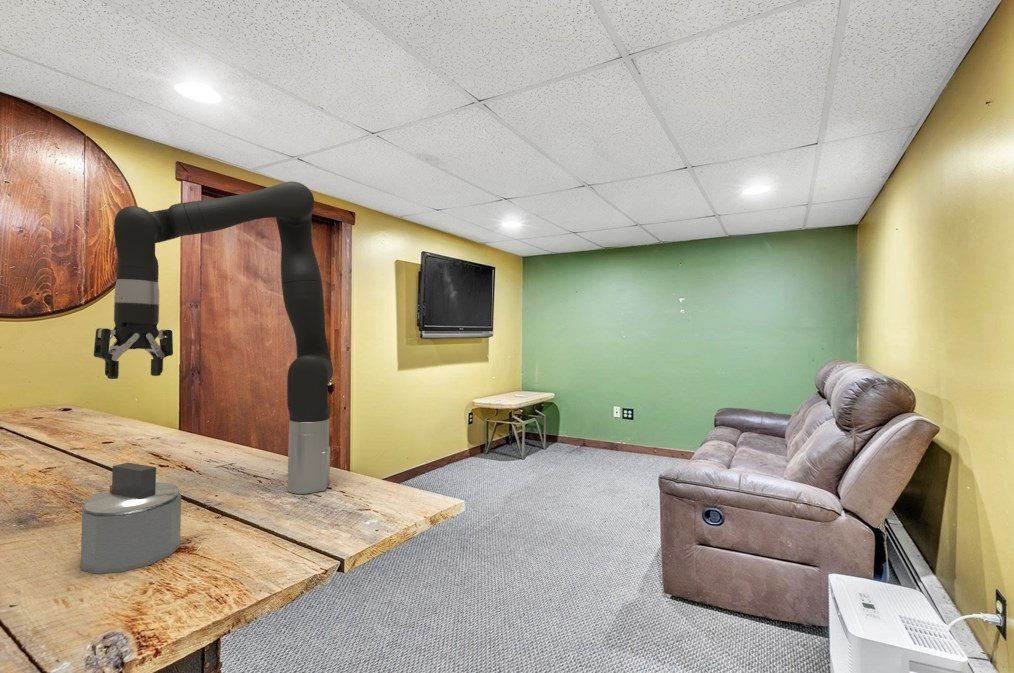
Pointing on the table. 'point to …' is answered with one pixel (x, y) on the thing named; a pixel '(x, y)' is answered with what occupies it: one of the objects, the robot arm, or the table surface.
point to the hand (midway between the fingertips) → (135, 377)
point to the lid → (131, 492)
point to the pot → (129, 538)
